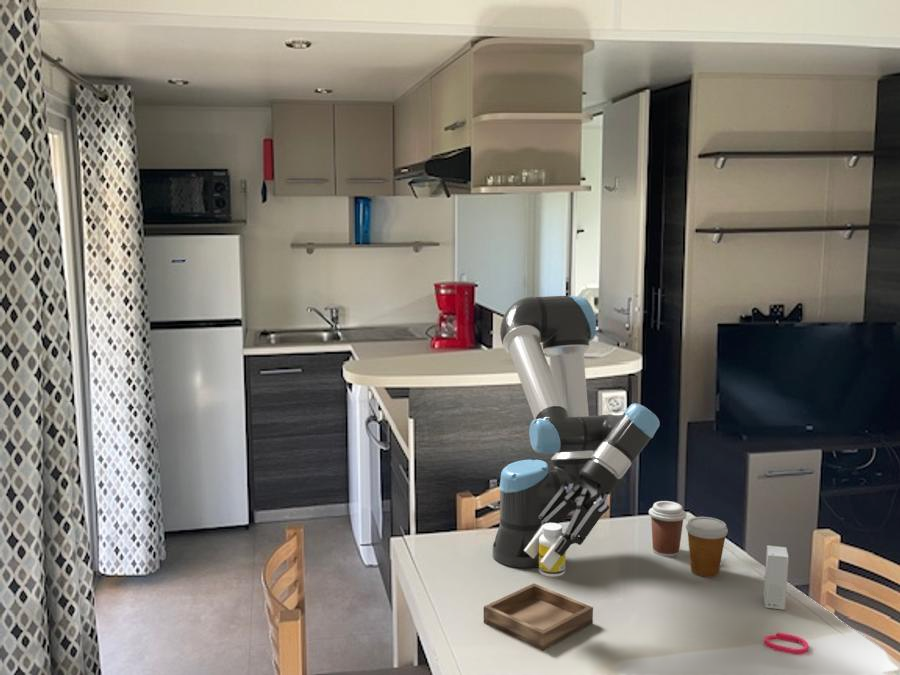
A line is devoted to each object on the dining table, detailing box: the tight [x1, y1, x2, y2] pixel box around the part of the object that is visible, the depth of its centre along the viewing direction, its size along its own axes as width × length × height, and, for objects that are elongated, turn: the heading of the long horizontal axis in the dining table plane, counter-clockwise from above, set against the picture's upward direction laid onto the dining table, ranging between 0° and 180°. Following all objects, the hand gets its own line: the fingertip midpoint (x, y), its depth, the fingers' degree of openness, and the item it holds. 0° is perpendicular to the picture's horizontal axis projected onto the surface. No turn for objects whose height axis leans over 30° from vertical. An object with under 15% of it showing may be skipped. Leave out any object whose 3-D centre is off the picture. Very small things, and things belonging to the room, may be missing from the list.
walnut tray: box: [483, 583, 594, 651], centre depth 178 cm, size 16×16×4 cm
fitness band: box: [763, 631, 810, 655], centre depth 169 cm, size 8×6×2 cm
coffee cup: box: [648, 500, 687, 557], centre depth 215 cm, size 9×9×12 cm
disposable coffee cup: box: [685, 516, 729, 578], centre depth 203 cm, size 10×10×12 cm
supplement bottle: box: [538, 522, 566, 578], centre depth 175 cm, size 5×5×10 cm
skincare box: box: [763, 545, 790, 611], centre depth 186 cm, size 6×4×12 cm
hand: (536, 559), depth 173 cm, fingers closed on supplement bottle, 5 cm apart
